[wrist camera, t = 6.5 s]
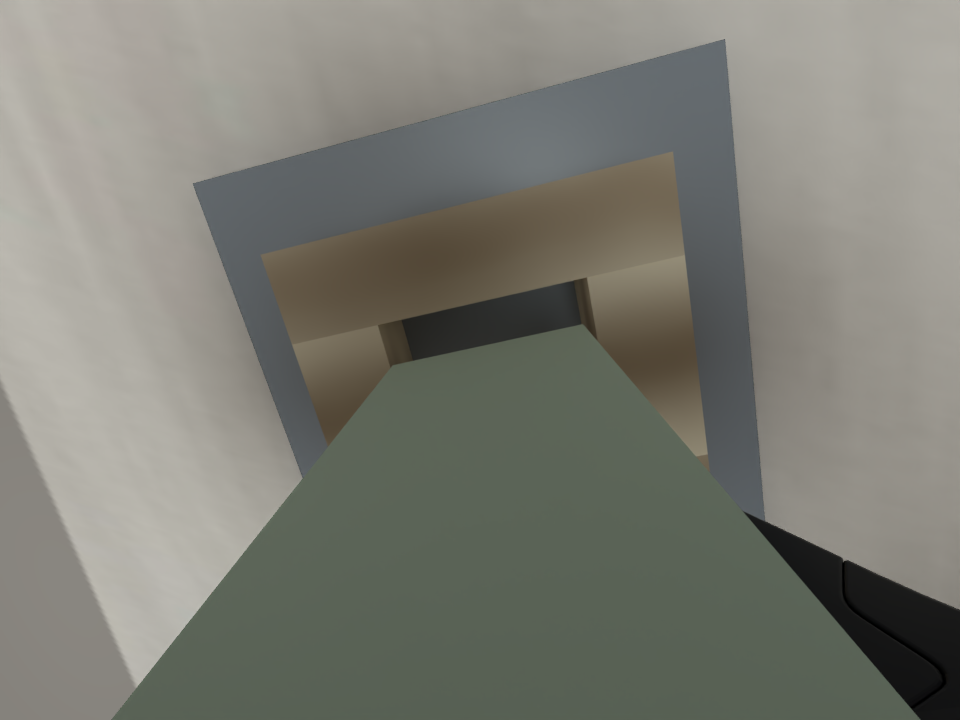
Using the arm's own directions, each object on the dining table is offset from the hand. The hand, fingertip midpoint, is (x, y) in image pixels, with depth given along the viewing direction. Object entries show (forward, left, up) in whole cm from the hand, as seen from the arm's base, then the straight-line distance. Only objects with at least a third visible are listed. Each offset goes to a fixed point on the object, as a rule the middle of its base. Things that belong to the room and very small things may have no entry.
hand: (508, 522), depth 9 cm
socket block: (0, 0, -10) cm, 10 cm away
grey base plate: (-1, 0, -10) cm, 10 cm away
